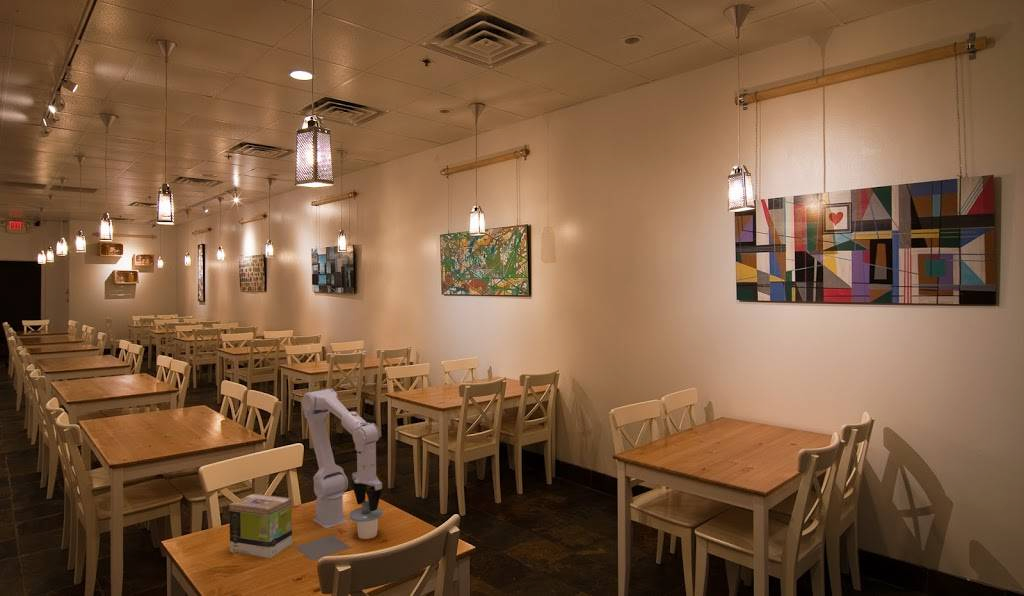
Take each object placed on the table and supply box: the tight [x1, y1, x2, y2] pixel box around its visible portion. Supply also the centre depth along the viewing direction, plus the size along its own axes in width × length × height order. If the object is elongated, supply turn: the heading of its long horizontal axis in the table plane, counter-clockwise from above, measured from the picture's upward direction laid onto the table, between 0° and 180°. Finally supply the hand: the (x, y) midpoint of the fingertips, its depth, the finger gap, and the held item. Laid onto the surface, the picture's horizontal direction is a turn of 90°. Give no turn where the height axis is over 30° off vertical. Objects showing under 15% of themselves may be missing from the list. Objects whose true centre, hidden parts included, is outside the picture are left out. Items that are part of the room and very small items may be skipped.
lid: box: [349, 500, 384, 522], centre depth 180 cm, size 10×10×4 cm
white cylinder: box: [356, 518, 379, 540], centre depth 180 cm, size 7×7×7 cm
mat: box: [294, 534, 351, 561], centre depth 172 cm, size 12×12×1 cm
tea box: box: [228, 493, 293, 559], centre depth 172 cm, size 15×10×15 cm, turn 71°
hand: (367, 506), depth 180 cm, fingers open, 7 cm apart
